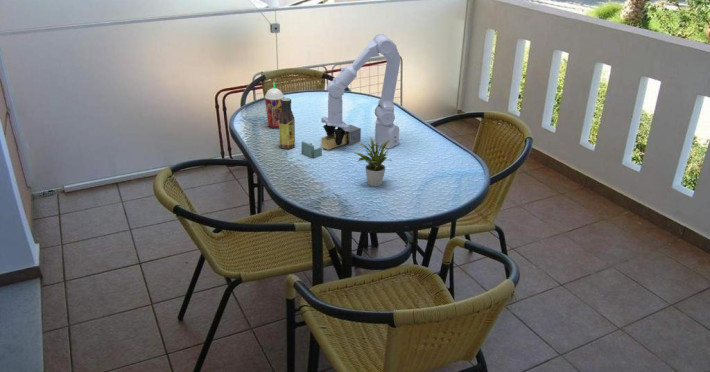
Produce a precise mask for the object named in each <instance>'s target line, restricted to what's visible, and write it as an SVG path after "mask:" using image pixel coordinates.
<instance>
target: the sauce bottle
mask: <svg viewBox="0 0 710 372" xmlns="http://www.w3.org/2000/svg"><path fill="white" fill-rule="evenodd" d="M281 103H282V111H281V113H280V115H279V128H278V132H279V133H278V134H279V135H278V137H279V147H280V148H281V149H286V150H289V149H293V148H295V144H296V130H295V129H296V128H295V126H296V124H295V123H296V122H295V119H296V118H295V116H294V114H293V111H292V99H291V98H289V97H284V98H283V99H281Z"/></svg>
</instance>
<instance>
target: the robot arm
mask: <svg viewBox="0 0 710 372" xmlns="http://www.w3.org/2000/svg"><path fill="white" fill-rule="evenodd" d="M380 54H381V55H382V56H383V57H384V58H385V59H386V64H385V69H384V70H385V72H384V75H383V76H384V77H383V82H382V83H383V84H382V87H381V88H382V89H381V96H380V99H379V100H378V102H377V106H376V107H375V108H374V115H375V117H376V120H375V127H374V128H375V129H374V131H375V132H374V140H373V142H374V146H376V145H375V142H376V143H377V142H378V147H380V146H381V145H382V144H383V143H384V142H387V141H388V140H391V139H392V140H391V141H389V143H388V144H389V145H388V144H387V145H388V147H387V145H386V147H387V148H386V147H385V148H386V149H388V148H389V149H392V148H395V146H398V145H399V144H400V139H399V138H400V128H399V126H398V125H396V124H395V123H394V122H395V119H396V117H395V116H396V115H395V106H394V100H395V99H394V98H395V93H396V87H397V80H398V77H399V71H400V64H401V55H400V52H399V51H398V48H397V44H395V42H394V41H393V40H391V39H390V38H389V37H388V36H387V35H386V34H384V33H378V34H376V35H375V36H374V37H373V39H371V40H370V41H369V42H368V43H367V45H366V46H365V48H364V49H363V50H362V51H361V52H360V53H359V55H358V56H357V57H356V58H355V60H354V61H353V62H352V64H351V65H345V67H342V68H341V69H340V72H339V73H338V75H337V76H336V77H333V79H332V80H330V81H329V82H328V83H327V85H326V91H327V92H328V96H327V98H328V99H327V116H323V117H320V119H321V120H320V121H321V122H320V123H323V124H325V125H323V126H322V127H323V129H324V131H325V133H326V136H328V135H331V134H334V133H335V135H336V144H337V145H340V146H342V145H341V144H342V140H343V137H344V135H345V133H346V131H349V125H350V124H347V123H346V122H344V121H343V96H344V94H345V89H347V88H348V87H349V85H351V83H352V82H353V81H354V80H355V79H356V78H357V76H358V71H359V70H360V69H361V68H362V67H364V65H365V64H366V63H367V62H368V61H369V60H370V59H371V58H376V57H380V56H381V55H380ZM384 144H385V143H384ZM384 144H383V145H384ZM383 145H382V147H383ZM382 147H381V148H382ZM385 148H384V149H385ZM389 149H388V150H389Z"/></svg>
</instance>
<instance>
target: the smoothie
mask: <svg viewBox="0 0 710 372" xmlns="http://www.w3.org/2000/svg"><path fill="white" fill-rule="evenodd" d="M272 85H273V86H272V87H271V88H269V89H268V90H267V92H266V94H265V95H264V101H265V109H266V110H265V111H266V118H267V120H266V121H267V124H268V126H269V128H272V129H279V115H280V113H281V111H282V103H281V99H283V98H285V95H284V94H283V92H282V90H281V89H279V88H277V87H275V86H276V83H275V81H273V82H272Z"/></svg>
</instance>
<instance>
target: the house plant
mask: <svg viewBox="0 0 710 372" xmlns="http://www.w3.org/2000/svg"><path fill="white" fill-rule="evenodd" d="M369 139H370V144H371V145H370V144H369V143H366V144H367V145H368V146H369V147H370V149H369V147H368V146H367V145H365V144H363V143H360V142H358V143H357V144H359V146H360V147H361V146H362V147H363V148H365V151H366V155H365V154H363V153H360V152H355V151H354V152H353V153H354V154H355V155H357V156H359V157H358V159H357V161H356V162H357V163H358V162H362V161H365V162H366V163H368V164H366V165H365V175H366V180H367V185H369V186H371V187H380V186H382V184H383V180H384V176H385V173H386V166H385V165H384V164H383V163H384V162H385V161H387V160H388V159H387V158H388V157H386V156H388V154H387V153H388V152H389V148H387V147H388V145H389V144H388V143H389V141H391V140H392V139H391V140H388V141H387V142H384V143H385V144H384V143H383V144H384V145H383V144H382V145H383V147H382V145H381V146H378V142H377V143H376V142H375V145H374V142H373V141H374V140H373V139H372V137H369ZM387 144H388V145H387ZM386 145H387V147H386ZM385 147H386V148H385ZM389 161H390V162H393V160H392V159H389Z"/></svg>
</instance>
